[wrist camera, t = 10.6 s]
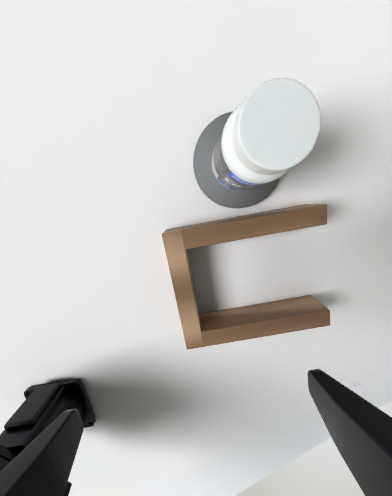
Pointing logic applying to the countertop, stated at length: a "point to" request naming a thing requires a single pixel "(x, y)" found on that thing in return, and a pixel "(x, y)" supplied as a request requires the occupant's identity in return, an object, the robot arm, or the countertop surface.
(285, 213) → the nook
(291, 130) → the pill bottle
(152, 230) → the countertop surface
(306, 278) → the countertop surface
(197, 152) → the coaster
